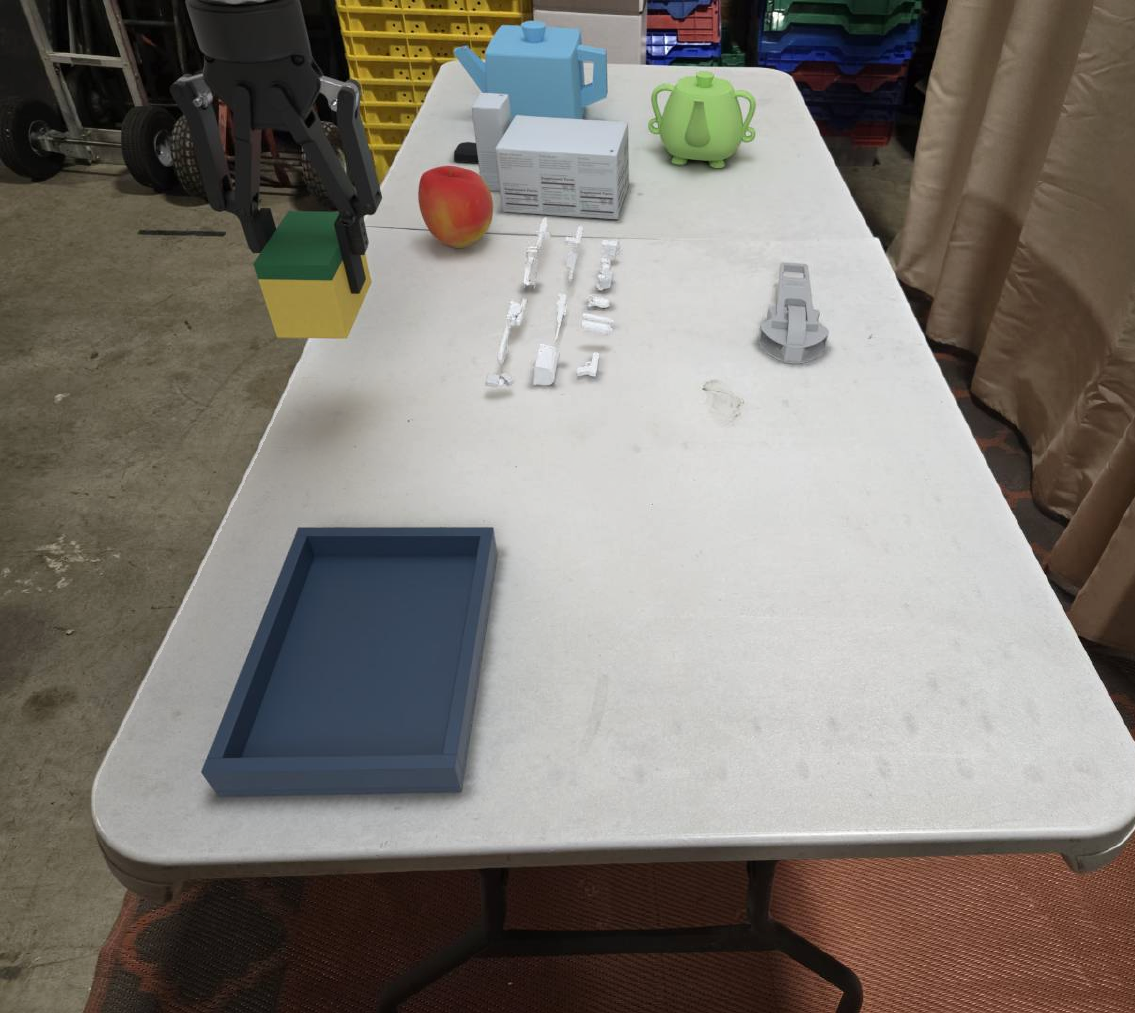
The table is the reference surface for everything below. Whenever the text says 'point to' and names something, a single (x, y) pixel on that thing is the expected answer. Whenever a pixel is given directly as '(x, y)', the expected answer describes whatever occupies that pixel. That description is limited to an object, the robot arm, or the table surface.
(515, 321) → the miniature set
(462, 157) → the remote control
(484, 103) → the cosmetic box
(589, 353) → the table surface
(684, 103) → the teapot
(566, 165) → the supplement box
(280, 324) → the sponge
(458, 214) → the apple
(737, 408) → the table surface
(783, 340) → the zipper pull
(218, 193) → the robot arm
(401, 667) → the tray
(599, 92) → the container
